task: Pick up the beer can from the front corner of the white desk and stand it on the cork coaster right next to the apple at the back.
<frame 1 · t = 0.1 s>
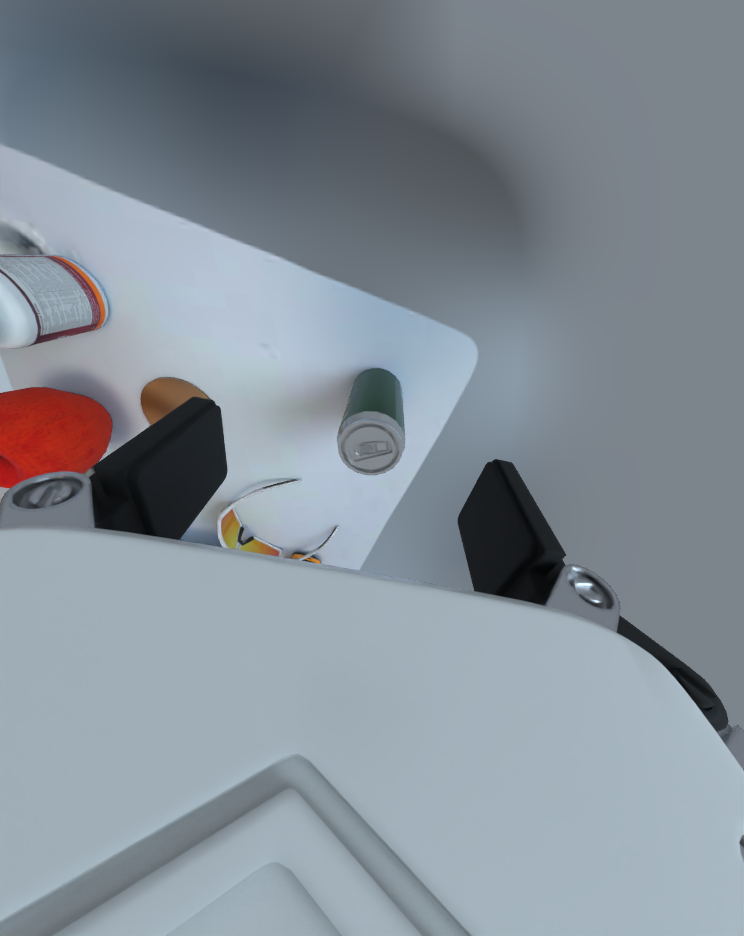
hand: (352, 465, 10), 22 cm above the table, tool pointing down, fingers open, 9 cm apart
apple: (94, 409, 36), on the table
pill bottle: (79, 294, 28), on the table
coaster: (183, 414, 35), on the table
beer can: (377, 390, 32), on the table
sunglasses: (281, 517, 45), on the table
toy car: (301, 570, 52), on the table
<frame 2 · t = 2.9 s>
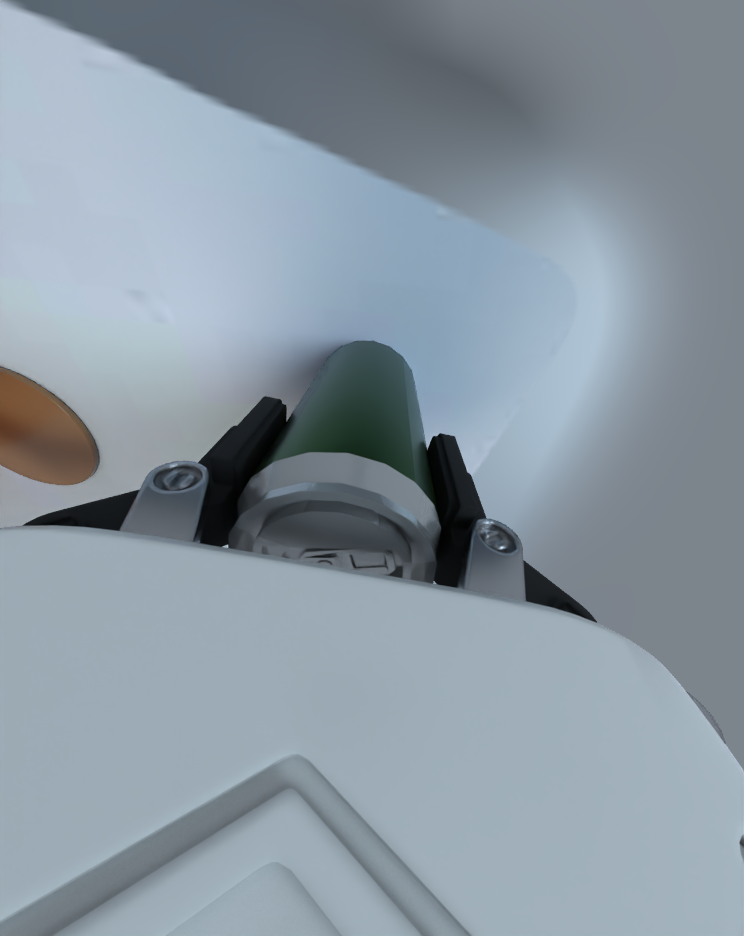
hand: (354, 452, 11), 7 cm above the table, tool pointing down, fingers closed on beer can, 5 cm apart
coaster: (25, 429, 20), on the table
beer can: (367, 386, 17), on the table, touching gripper
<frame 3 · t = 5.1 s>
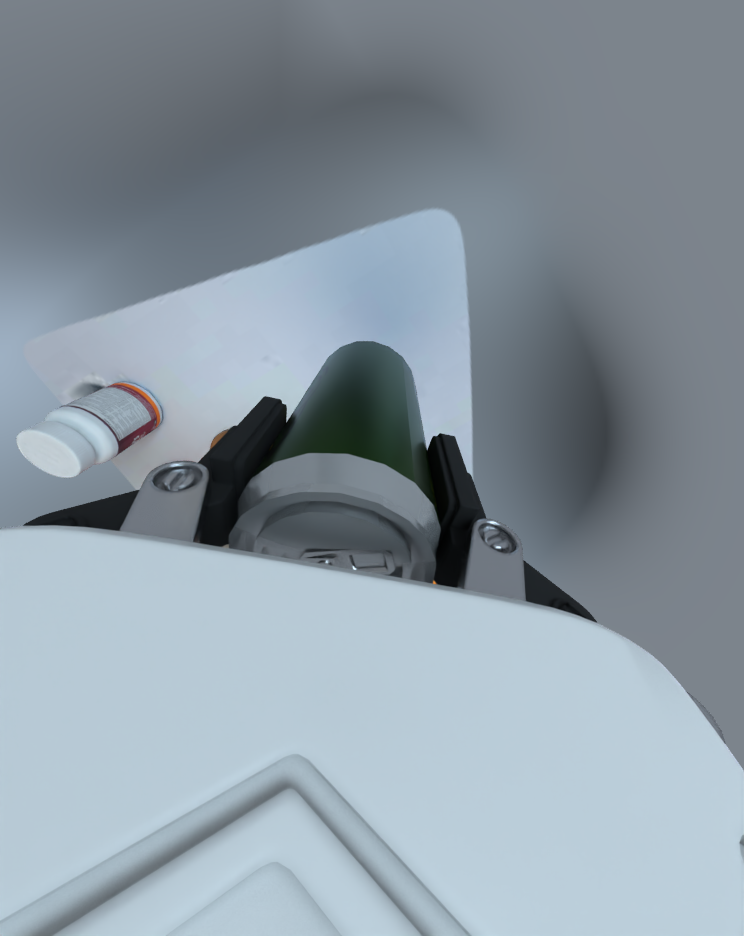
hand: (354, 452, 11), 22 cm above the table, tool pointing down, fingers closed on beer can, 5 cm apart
pill bottle: (139, 404, 36), on the table
coaster: (246, 458, 39), on the table
beer can: (367, 386, 17), point 15 cm above the table, touching gripper
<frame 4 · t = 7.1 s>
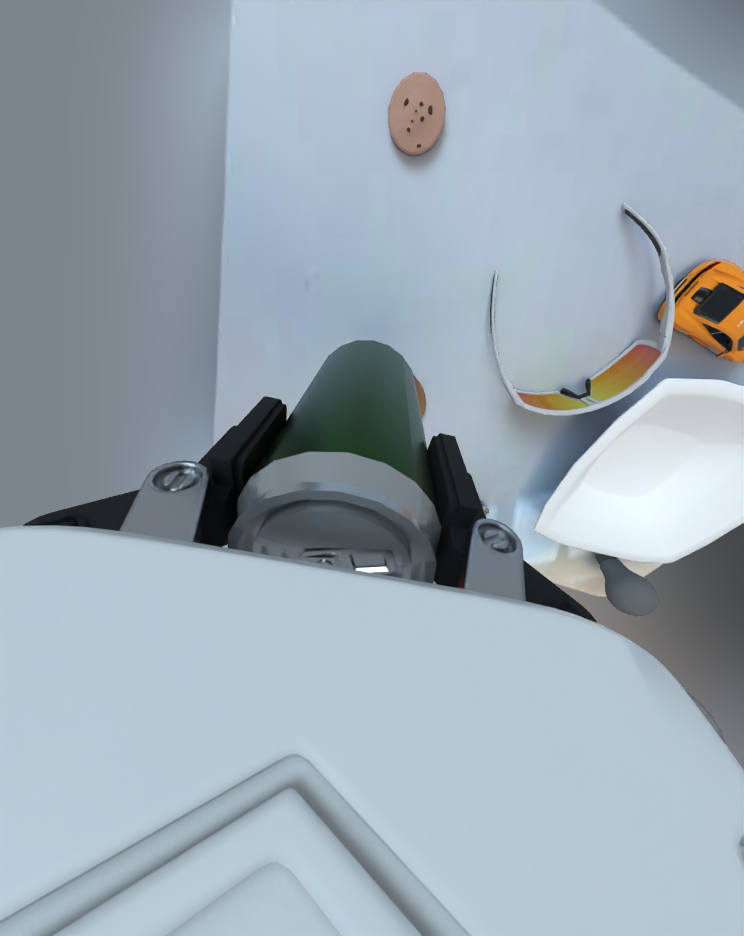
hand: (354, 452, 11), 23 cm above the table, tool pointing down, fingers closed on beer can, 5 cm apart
light bulb: (599, 550, 47), on the table
bowl: (633, 460, 37), on the table
beer can: (367, 385, 17), point 16 cm above the table, touching gripper
sunglasses: (564, 325, 28), on the table
toy car: (714, 314, 27), on the table
cookie: (416, 119, 21), on the table
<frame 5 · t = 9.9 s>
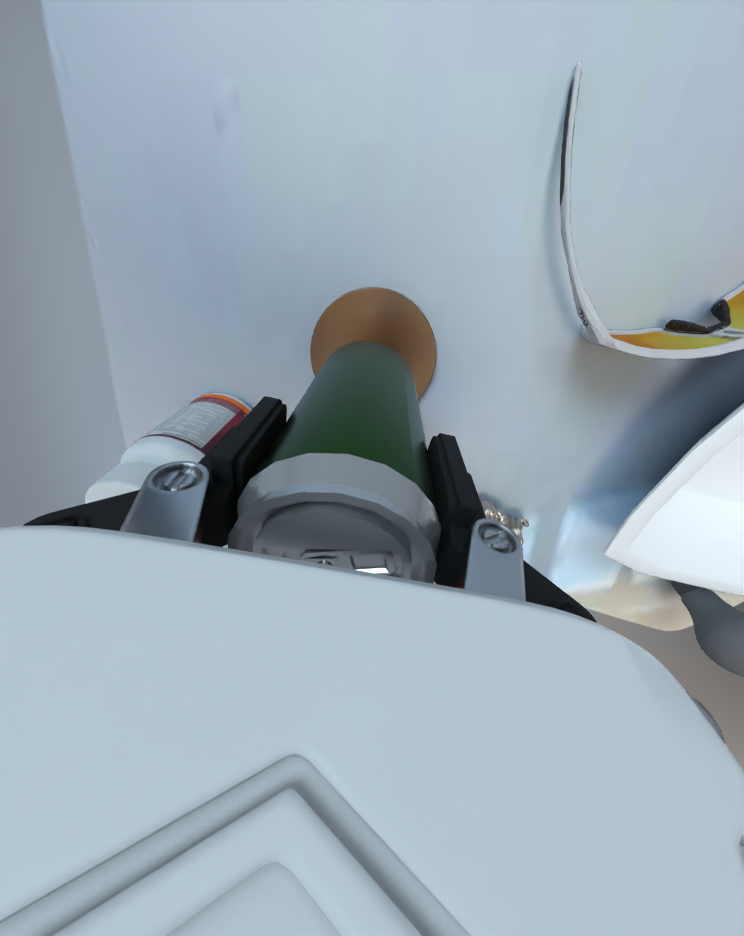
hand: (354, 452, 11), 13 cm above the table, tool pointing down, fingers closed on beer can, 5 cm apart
light bulb: (676, 574, 34), on the table
pill bottle: (230, 423, 25), on the table
coaster: (373, 359, 21), on the table
beer can: (367, 386, 17), point 6 cm above the table, touching gripper
sunglasses: (689, 195, 16), on the table
ornament: (480, 516, 30), on the table
when the fingers open (7 cm above the table, at t = 11.7 s): beer can stays where it is, resting on coaster.
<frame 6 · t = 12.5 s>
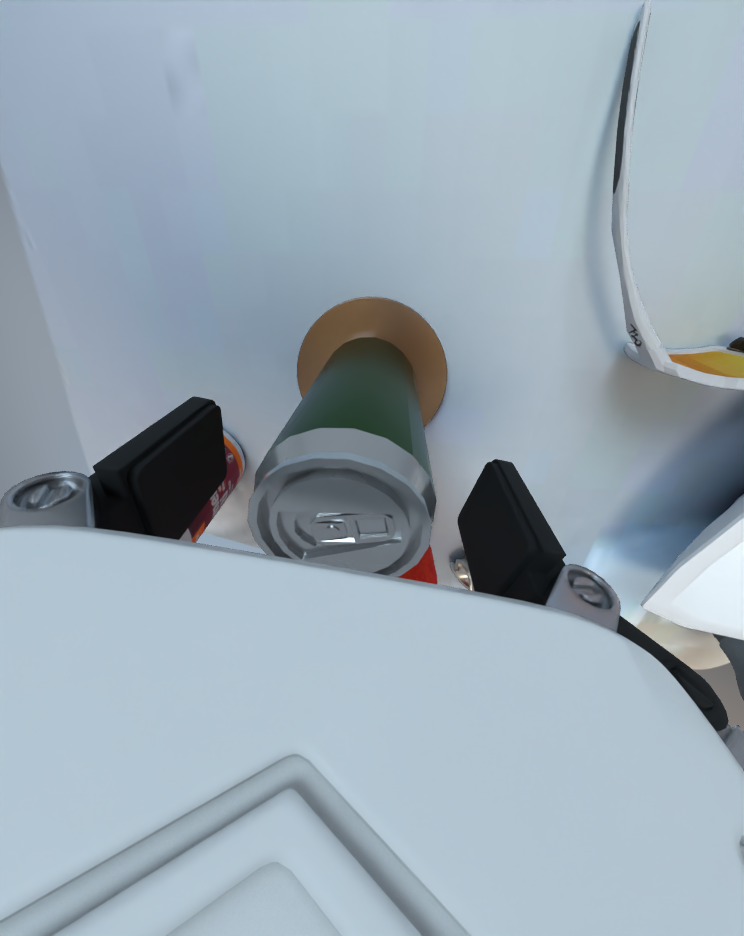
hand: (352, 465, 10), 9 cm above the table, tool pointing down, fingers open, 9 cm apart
light bulb: (712, 613, 30), on the table
apple: (368, 511, 25), on the table
pill bottle: (207, 450, 22), on the table
coaster: (371, 381, 18), on the table
beer can: (369, 380, 18), resting on coaster
ornament: (493, 551, 27), on the table
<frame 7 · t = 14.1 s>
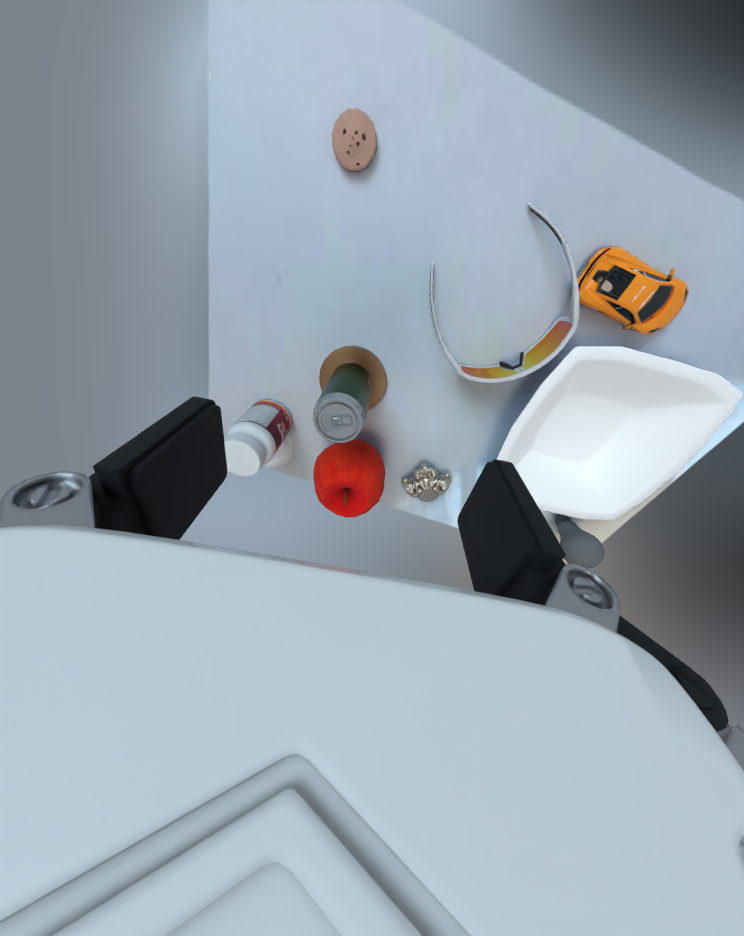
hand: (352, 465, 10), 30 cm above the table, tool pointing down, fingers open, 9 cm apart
light bulb: (559, 515, 51), on the table
apple: (355, 450, 46), on the table
pill bottle: (272, 417, 44), on the table
coaster: (353, 381, 40), on the table
bowl: (575, 427, 42), on the table
beer can: (352, 381, 39), resting on coaster
sunglasses: (496, 306, 34), on the table
toy car: (621, 292, 32), on the table
ornament: (425, 474, 48), on the table
cookie: (354, 143, 27), on the table
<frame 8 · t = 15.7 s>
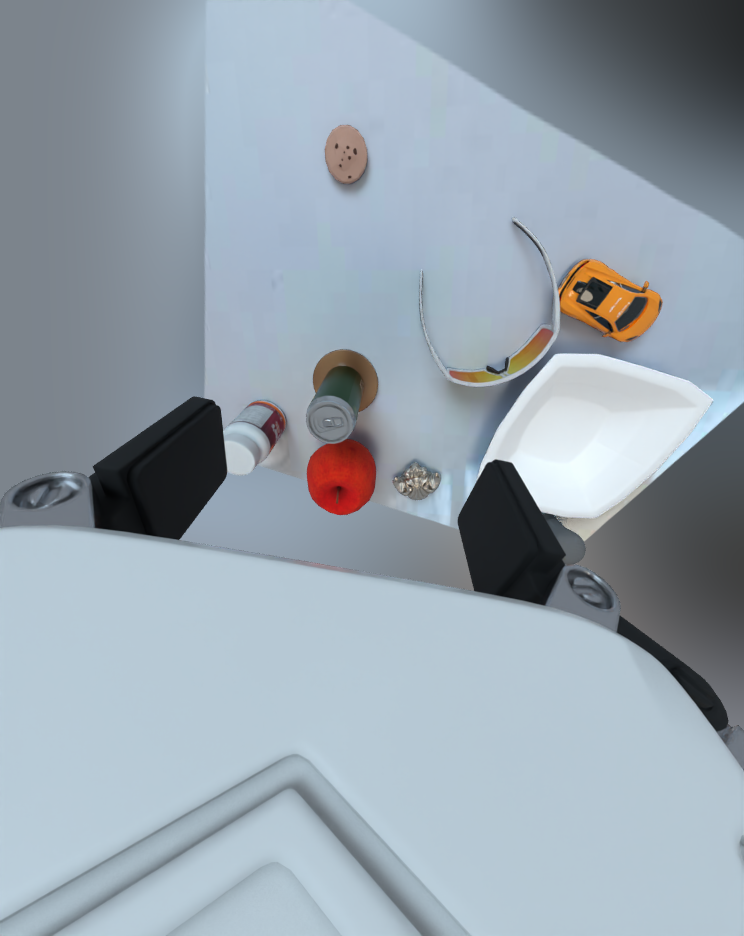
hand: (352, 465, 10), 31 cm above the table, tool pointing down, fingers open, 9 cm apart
light bulb: (544, 513, 53), on the table
apple: (347, 450, 48), on the table
pill bottle: (267, 417, 45), on the table
coaster: (345, 383, 41), on the table
bowl: (559, 429, 43), on the table
beer can: (344, 383, 41), resting on coaster
sunglasses: (482, 314, 35), on the table
toy car: (600, 302, 34), on the table
ornament: (416, 474, 50), on the table
cookie: (346, 157, 28), on the table
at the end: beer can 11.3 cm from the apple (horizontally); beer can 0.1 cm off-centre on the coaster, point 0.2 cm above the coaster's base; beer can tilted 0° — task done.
